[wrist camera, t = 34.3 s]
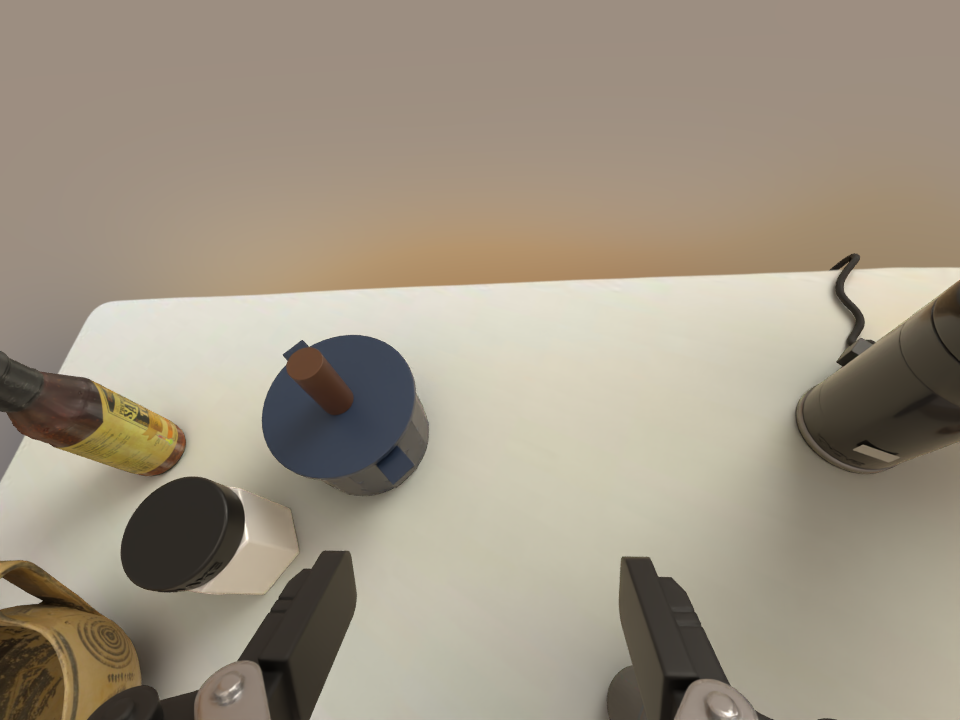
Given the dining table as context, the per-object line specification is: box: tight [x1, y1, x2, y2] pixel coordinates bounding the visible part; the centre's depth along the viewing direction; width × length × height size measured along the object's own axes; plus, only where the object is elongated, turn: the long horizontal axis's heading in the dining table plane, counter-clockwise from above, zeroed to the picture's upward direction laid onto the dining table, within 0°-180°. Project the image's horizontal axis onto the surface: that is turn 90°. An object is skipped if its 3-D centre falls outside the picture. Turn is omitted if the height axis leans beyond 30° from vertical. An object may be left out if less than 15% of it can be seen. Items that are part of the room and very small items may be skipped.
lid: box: [262, 335, 416, 480], centre depth 37 cm, size 14×14×8 cm
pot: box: [283, 340, 429, 496], centre depth 44 cm, size 13×18×10 cm
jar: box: [121, 477, 299, 595], centre depth 38 cm, size 9×8×12 cm
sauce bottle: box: [0, 351, 186, 476], centre depth 41 cm, size 7×6×20 cm
